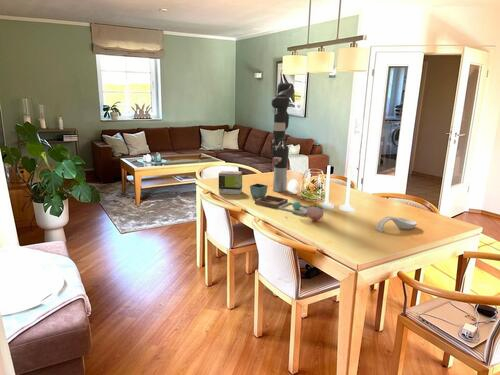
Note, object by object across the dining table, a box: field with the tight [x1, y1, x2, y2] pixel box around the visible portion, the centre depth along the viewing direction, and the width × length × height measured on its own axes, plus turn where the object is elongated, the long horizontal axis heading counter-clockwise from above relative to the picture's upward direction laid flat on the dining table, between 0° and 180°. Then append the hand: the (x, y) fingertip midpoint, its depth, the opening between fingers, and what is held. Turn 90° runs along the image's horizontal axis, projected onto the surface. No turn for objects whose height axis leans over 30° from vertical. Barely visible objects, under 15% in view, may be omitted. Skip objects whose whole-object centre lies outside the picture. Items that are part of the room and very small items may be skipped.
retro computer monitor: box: [218, 170, 243, 196], centre depth 257 cm, size 15×10×15 cm
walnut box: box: [254, 194, 289, 209], centre depth 233 cm, size 15×15×3 cm
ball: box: [292, 200, 302, 211], centre depth 222 cm, size 5×5×5 cm
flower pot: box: [249, 182, 268, 200], centre depth 245 cm, size 9×9×9 cm
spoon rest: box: [375, 215, 418, 233], centre depth 196 cm, size 24×12×7 cm, turn 113°
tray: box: [277, 201, 309, 217], centre depth 223 cm, size 14×18×2 cm
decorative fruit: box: [306, 203, 324, 222], centre depth 205 cm, size 9×8×10 cm
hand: (278, 155), depth 234 cm, fingers open, 8 cm apart
